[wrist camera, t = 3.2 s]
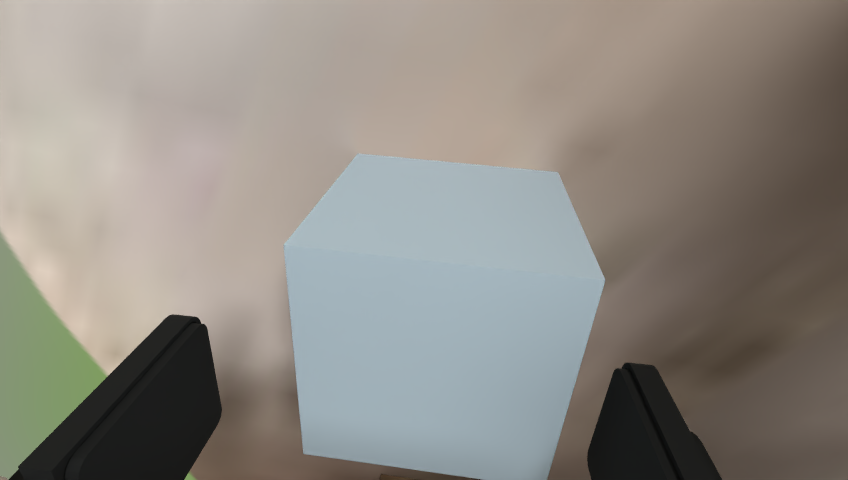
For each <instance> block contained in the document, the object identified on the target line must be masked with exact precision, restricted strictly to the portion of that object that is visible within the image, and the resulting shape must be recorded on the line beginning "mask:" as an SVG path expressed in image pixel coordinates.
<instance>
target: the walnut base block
mask: <svg viewBox="0 0 848 480" xmlns="http://www.w3.org/2000/svg"><path fill="white" fill-rule="evenodd" d="M380 480H417V479H410V478H404V477H397V476H390V475H383V474H381V477H380Z"/></svg>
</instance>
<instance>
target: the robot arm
mask: <svg viewBox="0 0 848 480" xmlns="http://www.w3.org/2000/svg"><path fill="white" fill-rule="evenodd" d="M221 412H222V407H221V402H220V396H219V391H218V385H217V380H216V374H215V369H214V363H213V358H212V352H211V347H210V341H209V336H208V330H207V327H206V325H204V324H201V322H200V320H199V318H197V317H192V316H183V315H169V316H168V317H167V318H165V319H164V320H163V321H162V322H161V323H160V324H159V326H158V327H157V328H156V329H155V330H154V331H153V332H152V333H151V334H150V335H149V336H148V337H147V338H146V339H145V340H144V341H143V342H142V343H141V344H140V345H139V346H138V347H137V348H136V349H135V350H134V351H133V352H132V353H131V354H130V355H129V356H128V357H127V358H126V359H125V360H124V361H123V362H122V363H121V364H120V365H119V366H118V367H117V368H116V369H115V370H114V371H113V372H112V373H111V374H110V375H109V376H108V377H107V378H106V379H105V380H104V381H103V382H102V383H101V384H100V385H99V386H98V387H97V388H96V389H95V390H94V391H93V392H92V393H91V394H90V395H89V396H88V397H87V398H86V399H85V400H84V401H83V402H82V403H81V404H80V405H79V406H78V407H77V408H76V409H75V410H74V411H73V412H72V413H71V414H70V415H69V416H68V417H67V418H66V419H65V420H64V421H63V422H62V423H61V424H60V425H59V426H58V427H57V428H56V429H55V430H54V431H53V432H52V433H51V434H50V435H49V436H48V437H47V438H46V439H45V440H44V441H43V442H42V443H41V444H40V445H39V446H38V447H37V448H36V449H35V450H34V451H33V452H32V453H31V454H30V455H29V456H28V457H27V458H26V459H25V460H24V461H23V462H22V463H21V464H20V465H19V466H18V468H19V469H18V471H17V472H16V473H15V474H14V475H13V476H12V477H11V478H10V479H9V480H184V479H185V477H186V476H187V474H188V472H189V471H190V469H191V467H192V466H193V464H194V462H195V461H196V459H197V458H198V456H199V454H200V453H201V451H202V449H203V448H204V446H205V444H206V443H207V441H208V440H209V438H210V436H211V435H212V433H213V431H214V430H215V428H216V426H217V425H218V423H219V420H220V417H221ZM587 461H588V468H589V472H590V476H591V479H592V480H722V478H721V477H720V475H719V473H718V471H717V469H716V468H715V466H714V464H713V462H712V460H711V458H710V457H709V455H708V453H707V451H706V449H705V447H704V446H703V444H702V442H701V441H700V439H699V438H698V437H697V436H696V435H695V434H694V433H692V432H690V431H689V429H688V427H687V425H686V423H685V421H684V419H683V417H682V416H681V414H680V412H679V410H678V408H677V406H676V404H675V402H674V401H673V399H672V397H671V395H670V393H669V391H668V389H667V387H666V386H665V384H664V382H663V380H662V378H661V376H660V374H659V372H658V371H657V369H656V368H655V367H654V366H652V365H645V364H635V363H625V364H624V365H623V367H622V369H619V368H617V369H615V370H614V373H613V375H612V379H611V382H610V385H609V388H608V391H607V394H606V397H605V400H604V403H603V406H602V409H601V412H600V415H599V419H598V422H597V425H596V428H595V431H594V434H593V437H592V440H591V443H590V446H589V449H588V456H587ZM0 480H8V479H7V478H5V477H1V476H0Z"/></svg>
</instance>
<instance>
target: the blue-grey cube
mask: <svg viewBox="0 0 848 480" xmlns="http://www.w3.org/2000/svg"><path fill="white" fill-rule="evenodd" d="M284 254H285V265H286V275H287V286H288V296H289V307H290V317H291V328H292V338H293V349H294V359H295V370H296V380H297V391H298V401H299V412H300V423H301V433H302V444H303V454H308V455H315V456H322V457H329V458H336V459H343V460H350V461H357V462H364V463H371V464H378V465H385V466H392V467H399V468H406V469H413V470H420V471H427V472H434V473H441V474H448V475H455V476H462V477H469V478H476V479H483V480H547V478H548V475H549V471H550V468H551V464H552V461H553V457H554V454H555V451H556V447H557V444H558V440H559V437H560V434H561V430H562V427H563V423H564V420H565V416H566V413H567V410H568V406H569V403H570V399H571V396H572V393H573V389H574V386H575V382H576V379H577V375H578V372H579V369H580V365H581V362H582V358H583V355H584V352H585V348H586V345H587V341H588V338H589V334H590V331H591V328H592V324H593V321H594V317H595V314H596V311H597V307H598V304H599V300H600V297H601V293H602V290H603V287H604V283H605V278H604V276H603V274H602V271H601V269H600V267H599V265H598V262H597V260H596V258H595V256H594V253H593V251H592V249H591V246H590V244H589V242H588V240H587V237H586V235H585V233H584V231H583V228H582V226H581V224H580V221H579V219H578V217H577V215H576V212H575V210H574V208H573V206H572V203H571V201H570V199H569V196H568V194H567V192H566V190H565V187H564V185H563V183H562V181H561V178H560V176H559V174H558V172H550V171H540V170H529V169H518V168H507V167H497V166H486V165H475V164H465V163H454V162H443V161H433V160H422V159H411V158H401V157H390V156H379V155H369V154H357V155H356V157H355V158H354V159H353V160H352V162H351V163H350V164H349V165H348V166H347V168H346V169H345V170H344V171H343V173H342V174H341V175H340V176H339V177H338V179H337V180H336V181H335V182H334V184H333V185H332V186H331V187H330V189H329V190H328V191H327V192H326V193H325V195H324V196H323V197H322V198H321V200H320V201H319V202H318V203H317V205H316V206H315V207H314V208H313V209H312V211H311V212H310V213H309V214H308V216H307V217H306V218H305V219H304V221H303V222H302V223H301V224H300V225H299V227H298V228H297V229H296V230H295V232H294V233H293V234H292V235H291V236H290V238H289V239H288V240H287V241H286V243H285V244H284Z"/></svg>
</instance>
